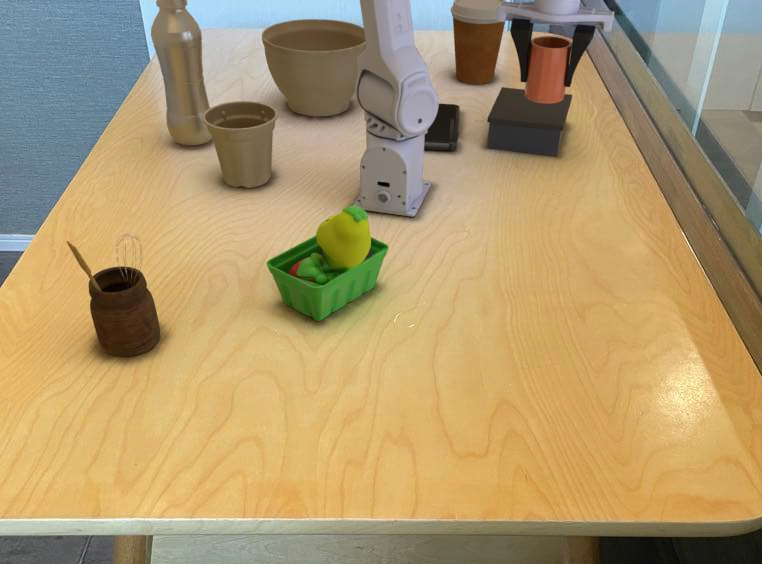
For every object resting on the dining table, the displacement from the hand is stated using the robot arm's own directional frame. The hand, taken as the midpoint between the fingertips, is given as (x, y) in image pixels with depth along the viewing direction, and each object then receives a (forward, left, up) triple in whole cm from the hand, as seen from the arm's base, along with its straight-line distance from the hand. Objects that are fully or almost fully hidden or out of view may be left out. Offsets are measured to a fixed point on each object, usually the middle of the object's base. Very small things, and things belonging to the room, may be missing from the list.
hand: (546, 82), depth 109 cm
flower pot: (-19, +36, -10) cm, 42 cm away
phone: (+4, +16, -10) cm, 19 cm away
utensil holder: (-56, +33, -10) cm, 66 cm away
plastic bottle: (-10, +48, -10) cm, 50 cm away
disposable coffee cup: (+28, +14, -10) cm, 33 cm away
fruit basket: (-43, +16, -10) cm, 47 cm away
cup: (0, 0, -2) cm, 2 cm away
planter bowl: (+8, +35, -10) cm, 37 cm away
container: (+6, +2, -10) cm, 12 cm away
